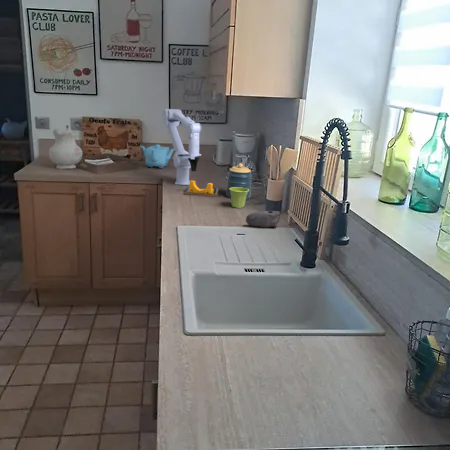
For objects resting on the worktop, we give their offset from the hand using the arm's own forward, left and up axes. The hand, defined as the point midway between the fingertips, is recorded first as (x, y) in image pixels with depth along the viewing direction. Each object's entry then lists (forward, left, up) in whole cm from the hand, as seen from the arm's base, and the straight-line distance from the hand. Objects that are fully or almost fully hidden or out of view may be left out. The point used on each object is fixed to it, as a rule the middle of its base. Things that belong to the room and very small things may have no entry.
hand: (193, 171), depth 253 cm
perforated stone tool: (+61, +36, -10) cm, 71 cm away
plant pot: (+32, +25, -10) cm, 42 cm away
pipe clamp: (+11, +6, -10) cm, 16 cm away
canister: (+12, +25, -10) cm, 29 cm away
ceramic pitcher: (-32, -82, -10) cm, 89 cm away
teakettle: (-51, -29, -10) cm, 60 cm away
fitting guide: (+9, +6, -10) cm, 14 cm away
